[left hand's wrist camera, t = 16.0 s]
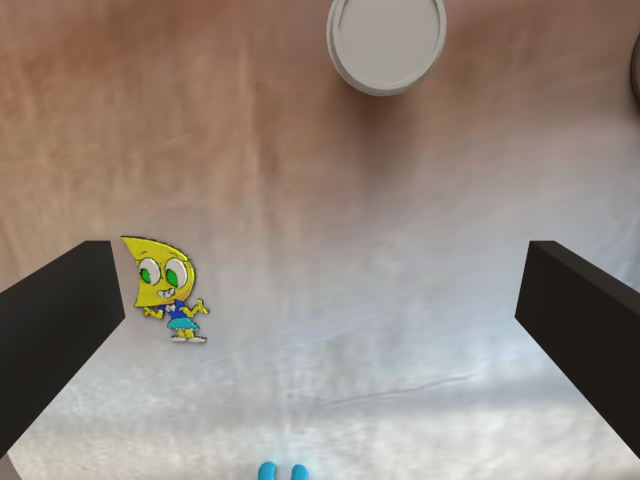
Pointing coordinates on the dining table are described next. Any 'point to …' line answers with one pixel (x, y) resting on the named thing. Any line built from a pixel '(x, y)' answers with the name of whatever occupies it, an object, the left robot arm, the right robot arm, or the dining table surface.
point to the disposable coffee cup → (385, 42)
